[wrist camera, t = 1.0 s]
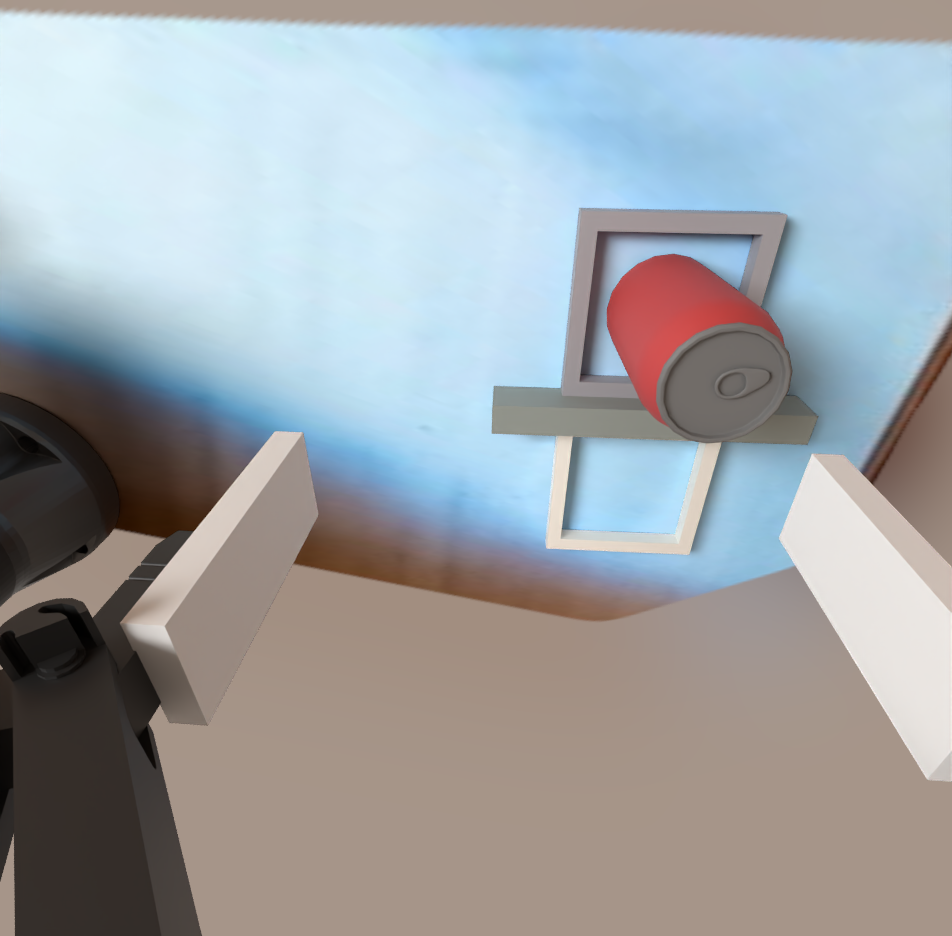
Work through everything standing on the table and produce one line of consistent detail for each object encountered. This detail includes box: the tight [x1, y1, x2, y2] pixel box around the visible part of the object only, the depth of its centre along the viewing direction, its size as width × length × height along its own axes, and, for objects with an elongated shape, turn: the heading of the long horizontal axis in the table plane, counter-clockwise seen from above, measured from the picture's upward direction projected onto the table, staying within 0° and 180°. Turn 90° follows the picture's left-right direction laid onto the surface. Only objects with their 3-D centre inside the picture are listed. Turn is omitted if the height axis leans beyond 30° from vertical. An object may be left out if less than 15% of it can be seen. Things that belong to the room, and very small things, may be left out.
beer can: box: [607, 254, 792, 444], centre depth 28 cm, size 7×7×12 cm
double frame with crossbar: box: [492, 208, 818, 555], centre depth 36 cm, size 20×24×3 cm
